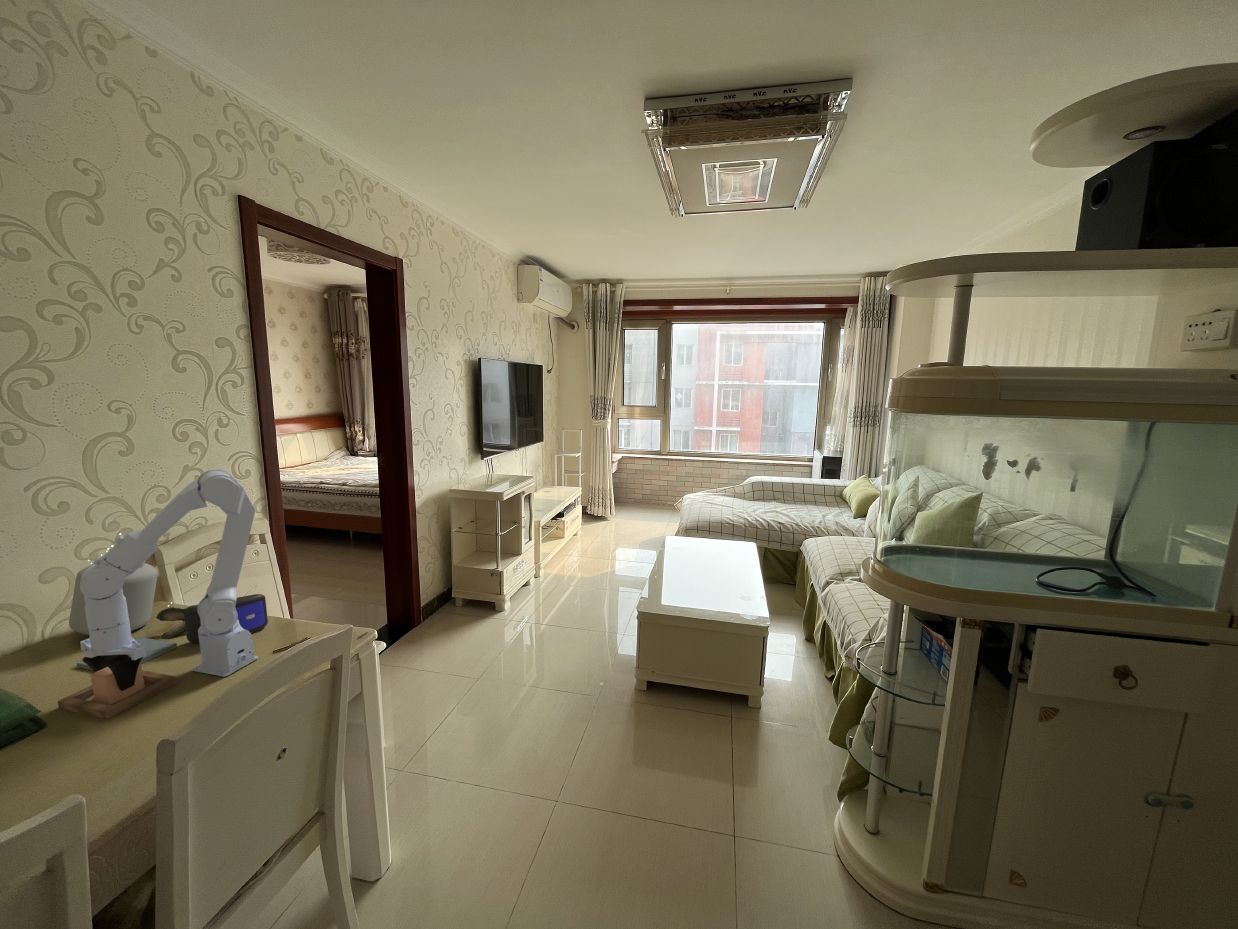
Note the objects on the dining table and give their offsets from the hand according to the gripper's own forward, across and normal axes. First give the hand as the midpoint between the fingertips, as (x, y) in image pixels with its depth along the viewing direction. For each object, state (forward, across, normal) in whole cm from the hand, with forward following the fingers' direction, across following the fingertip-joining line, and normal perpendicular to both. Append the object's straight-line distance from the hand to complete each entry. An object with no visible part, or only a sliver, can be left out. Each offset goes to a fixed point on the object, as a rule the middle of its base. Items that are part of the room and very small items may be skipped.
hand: (118, 686), depth 101 cm
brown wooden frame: (+2, 0, 0) cm, 2 cm away
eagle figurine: (+2, -16, +24) cm, 29 cm away
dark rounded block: (+2, -3, +25) cm, 25 cm away
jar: (+2, -32, +21) cm, 38 cm away
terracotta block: (+2, 0, 0) cm, 2 cm away
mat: (+2, -15, +11) cm, 19 cm away
